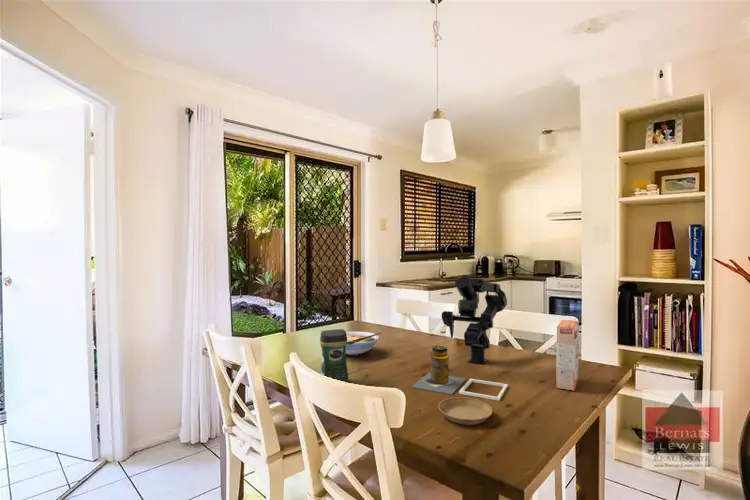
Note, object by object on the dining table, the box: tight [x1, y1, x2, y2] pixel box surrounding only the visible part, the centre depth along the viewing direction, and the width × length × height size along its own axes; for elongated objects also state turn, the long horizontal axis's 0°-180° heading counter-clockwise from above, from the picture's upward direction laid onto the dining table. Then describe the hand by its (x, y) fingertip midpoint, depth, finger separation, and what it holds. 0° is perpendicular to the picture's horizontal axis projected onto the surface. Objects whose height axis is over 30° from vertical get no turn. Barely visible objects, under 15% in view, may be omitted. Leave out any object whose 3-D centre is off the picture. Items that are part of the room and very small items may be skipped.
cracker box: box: [555, 319, 580, 392], centre depth 133 cm, size 14×6×21 cm, turn 148°
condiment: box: [422, 345, 454, 387], centre depth 135 cm, size 7×8×12 cm
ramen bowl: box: [346, 331, 382, 356], centre depth 174 cm, size 25×23×8 cm
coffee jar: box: [319, 328, 349, 383], centre depth 136 cm, size 10×8×19 cm
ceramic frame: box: [458, 378, 508, 402], centre depth 128 cm, size 14×13×1 cm
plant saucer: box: [437, 396, 493, 426], centre depth 109 cm, size 15×15×3 cm
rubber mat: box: [411, 372, 467, 396], centre depth 134 cm, size 16×14×1 cm
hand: (464, 338), depth 143 cm, fingers open, 9 cm apart
